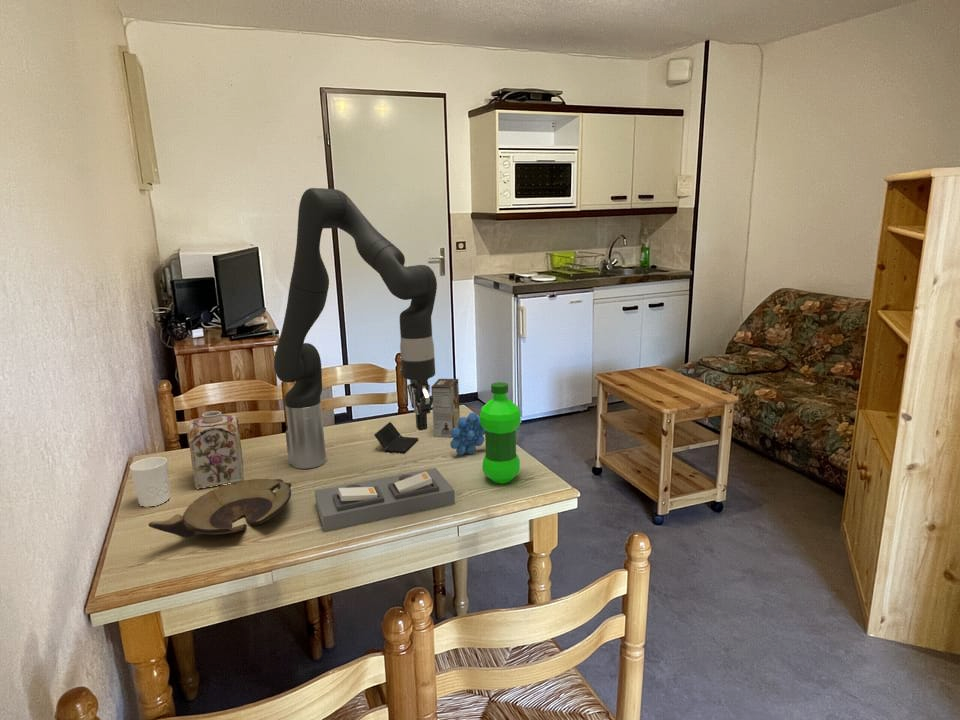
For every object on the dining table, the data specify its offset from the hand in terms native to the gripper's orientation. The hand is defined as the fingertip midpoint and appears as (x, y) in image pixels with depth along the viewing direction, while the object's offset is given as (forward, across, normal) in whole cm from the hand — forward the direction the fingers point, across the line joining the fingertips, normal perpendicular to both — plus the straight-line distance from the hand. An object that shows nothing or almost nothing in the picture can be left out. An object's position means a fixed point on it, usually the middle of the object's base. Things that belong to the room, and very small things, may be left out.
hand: (421, 428), depth 140 cm
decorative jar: (+18, +36, +45) cm, 61 cm away
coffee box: (+18, +41, -20) cm, 49 cm away
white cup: (+18, +28, +60) cm, 69 cm away
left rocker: (+13, 0, +16) cm, 20 cm away
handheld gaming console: (+18, +37, -3) cm, 42 cm away
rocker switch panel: (+18, +3, +9) cm, 20 cm away
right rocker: (+13, 0, +3) cm, 13 cm away
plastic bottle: (+18, +3, -21) cm, 28 cm away
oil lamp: (+18, +9, +44) cm, 48 cm away
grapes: (+18, +23, -20) cm, 35 cm away
